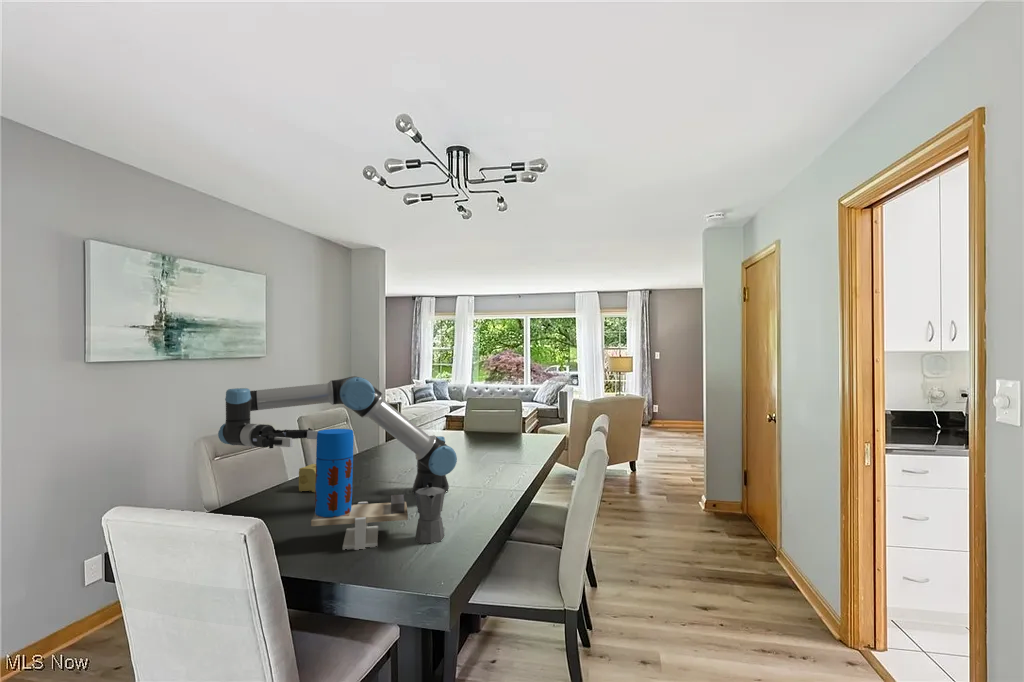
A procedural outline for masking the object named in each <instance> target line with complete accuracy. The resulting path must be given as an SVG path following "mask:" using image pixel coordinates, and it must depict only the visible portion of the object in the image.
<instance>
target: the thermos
mask: <svg viewBox="0 0 1024 682" xmlns="http://www.w3.org/2000/svg"><path fill="white" fill-rule="evenodd" d="M317 431H318V433H317V439H316V449H315V450H316V453H315V455H316V456H315V464H316V485H315V492H314V507H315V509H314V510H315V511H314V514H315V513H316V515H318V516H321V517H337V516H342V515H345V514H348V513H349V512H350V511H351V505H353V504H352V503H353V501H352V499H353V481H354V480H353V479H354V478H353V475H354V471H353V470H354V468H353V467H354V439H355V438H354V436H355V435H354V430H353V429H349V428H327V429H320V430H317Z"/></svg>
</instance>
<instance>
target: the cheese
mask: <svg viewBox="0 0 1024 682" xmlns="http://www.w3.org/2000/svg"><path fill="white" fill-rule="evenodd" d="M315 485H316V463H311V464H308V465H306V466H304V467H300V468H299V470H298V492H302V491H309V492H312V493H315Z"/></svg>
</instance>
